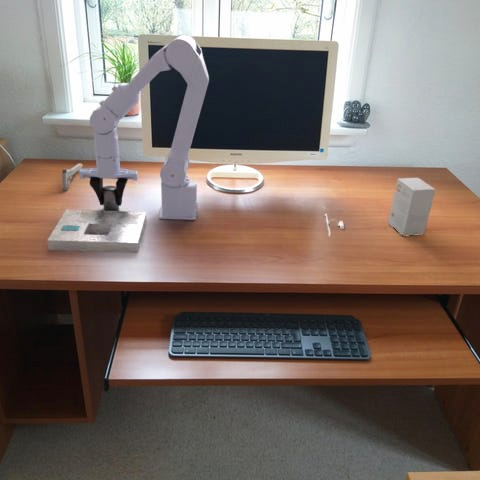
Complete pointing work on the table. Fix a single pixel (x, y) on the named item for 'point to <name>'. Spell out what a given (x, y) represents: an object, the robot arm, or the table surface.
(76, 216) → the plate
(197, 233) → the table surface
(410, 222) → the small box
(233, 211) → the table surface
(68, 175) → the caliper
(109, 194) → the cylinder
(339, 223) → the picture light
